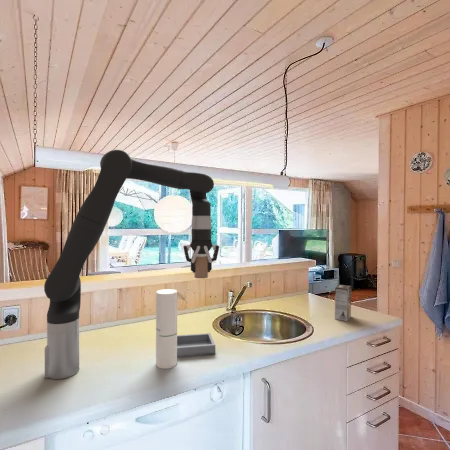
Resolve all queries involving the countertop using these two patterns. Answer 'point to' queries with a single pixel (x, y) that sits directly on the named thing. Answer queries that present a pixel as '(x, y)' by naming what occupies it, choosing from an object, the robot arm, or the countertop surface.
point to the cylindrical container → (166, 328)
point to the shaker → (201, 266)
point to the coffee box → (343, 302)
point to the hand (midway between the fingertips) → (201, 272)
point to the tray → (195, 345)
